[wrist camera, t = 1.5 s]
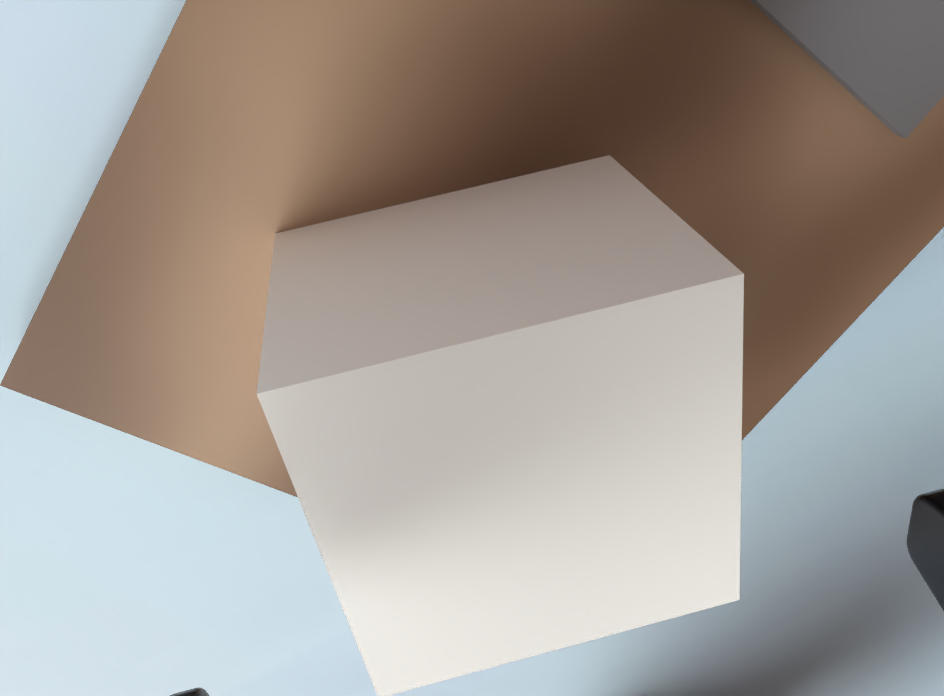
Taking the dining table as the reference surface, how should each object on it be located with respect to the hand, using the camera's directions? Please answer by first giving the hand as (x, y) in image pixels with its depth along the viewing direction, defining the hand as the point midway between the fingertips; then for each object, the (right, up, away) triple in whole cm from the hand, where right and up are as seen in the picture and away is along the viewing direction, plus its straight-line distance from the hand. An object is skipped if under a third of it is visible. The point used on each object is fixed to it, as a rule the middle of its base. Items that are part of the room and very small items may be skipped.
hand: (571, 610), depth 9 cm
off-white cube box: (-1, +3, +5) cm, 7 cm away
